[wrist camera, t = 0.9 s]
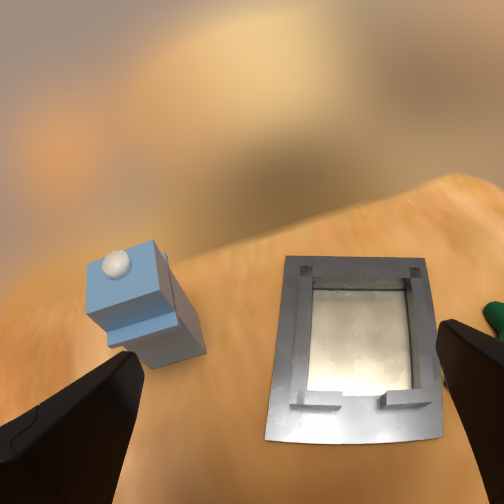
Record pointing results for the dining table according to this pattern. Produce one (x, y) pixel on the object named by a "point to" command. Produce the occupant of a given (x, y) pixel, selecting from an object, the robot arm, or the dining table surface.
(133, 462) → the dining table surface
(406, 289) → the tray
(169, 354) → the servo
